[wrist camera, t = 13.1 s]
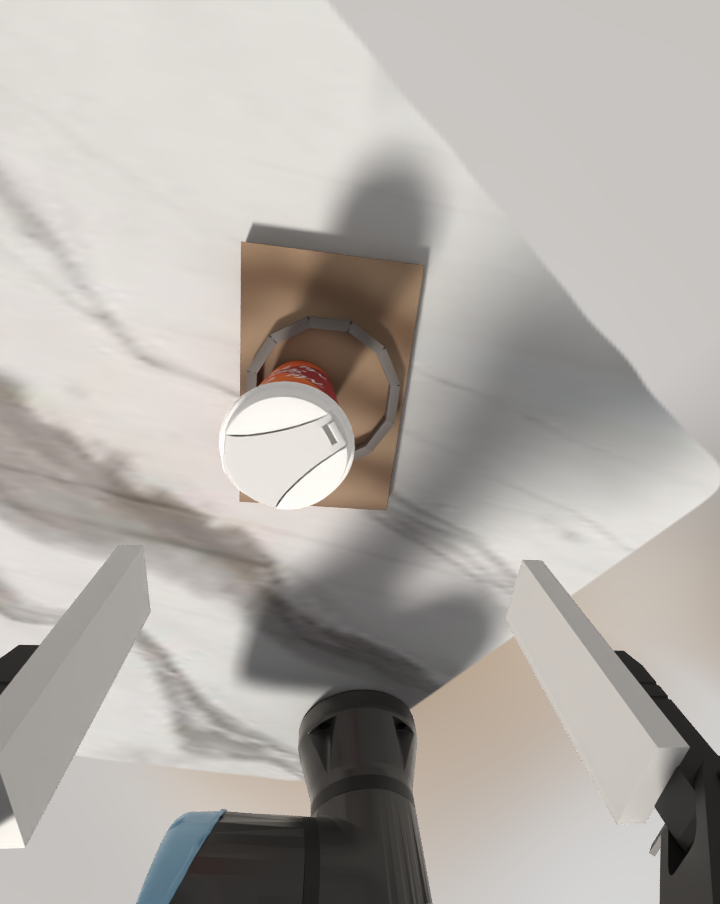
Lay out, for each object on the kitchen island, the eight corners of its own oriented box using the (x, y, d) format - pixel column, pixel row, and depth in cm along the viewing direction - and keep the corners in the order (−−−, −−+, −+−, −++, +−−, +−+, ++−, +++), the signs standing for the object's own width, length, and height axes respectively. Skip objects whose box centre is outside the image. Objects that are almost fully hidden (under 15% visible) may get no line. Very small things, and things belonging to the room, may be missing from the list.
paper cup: (318, 329, 34) (314, 360, 21) (359, 411, 37) (379, 482, 24) (234, 373, 34) (181, 429, 22) (281, 449, 37) (259, 538, 24)
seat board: (384, 502, 42) (387, 516, 39) (242, 494, 40) (237, 508, 38) (420, 265, 34) (427, 264, 31) (244, 243, 32) (238, 239, 30)
